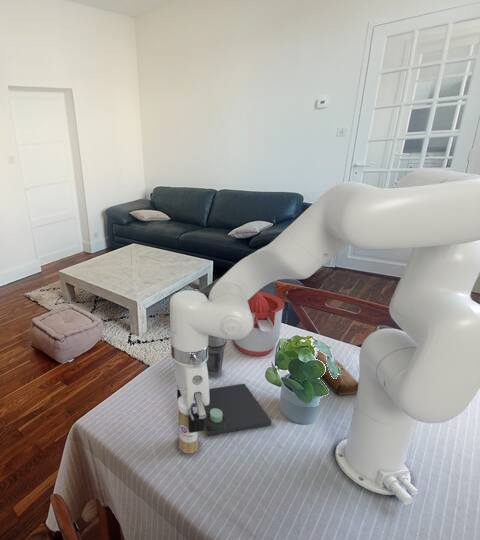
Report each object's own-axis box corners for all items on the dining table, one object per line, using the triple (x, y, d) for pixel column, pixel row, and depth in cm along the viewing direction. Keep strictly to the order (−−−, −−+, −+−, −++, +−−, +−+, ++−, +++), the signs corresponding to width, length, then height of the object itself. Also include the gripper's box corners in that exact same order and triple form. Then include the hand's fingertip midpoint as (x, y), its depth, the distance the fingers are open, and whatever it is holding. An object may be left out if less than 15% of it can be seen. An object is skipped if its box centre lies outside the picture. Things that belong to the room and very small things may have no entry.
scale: (271, 427, 82) (272, 417, 81) (208, 438, 80) (208, 428, 79) (244, 387, 95) (244, 378, 94) (189, 396, 94) (189, 387, 93)
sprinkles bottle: (176, 451, 78) (174, 405, 73) (181, 435, 82) (180, 391, 77) (196, 457, 76) (195, 410, 71) (200, 441, 80) (200, 396, 75)
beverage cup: (223, 365, 105) (224, 308, 98) (227, 380, 98) (230, 321, 91) (199, 365, 106) (199, 309, 99) (202, 380, 99) (202, 321, 92)
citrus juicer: (238, 365, 105) (241, 308, 97) (224, 335, 121) (225, 284, 114) (289, 363, 104) (296, 305, 96) (268, 332, 120) (273, 281, 113)
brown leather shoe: (367, 391, 89) (358, 374, 87) (343, 404, 91) (333, 388, 89) (326, 352, 106) (317, 337, 104) (306, 363, 107) (297, 349, 105)
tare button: (224, 421, 81) (224, 416, 81) (212, 423, 81) (212, 418, 80) (219, 412, 84) (219, 407, 83) (207, 414, 84) (207, 409, 83)
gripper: (224, 373, 61) (221, 445, 68) (193, 326, 77) (193, 387, 84) (184, 379, 61) (185, 452, 67) (161, 330, 77) (164, 392, 83)
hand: (190, 415), depth 75 cm, fingers open, 7 cm apart
